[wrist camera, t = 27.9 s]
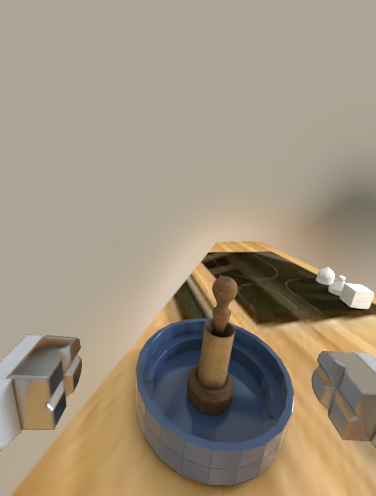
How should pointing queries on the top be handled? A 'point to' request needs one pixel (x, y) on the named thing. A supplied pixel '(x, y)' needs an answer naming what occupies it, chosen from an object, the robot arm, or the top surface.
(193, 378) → the mortar and pestle
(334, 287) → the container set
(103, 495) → the top surface
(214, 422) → the bowl
